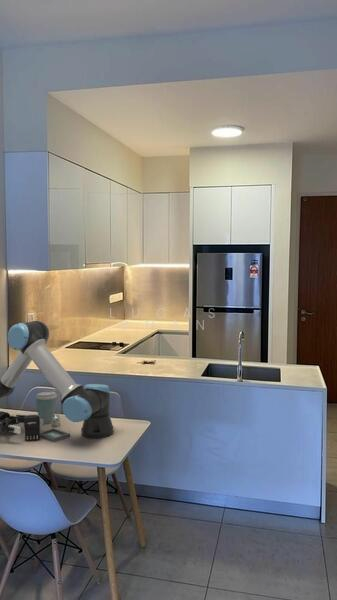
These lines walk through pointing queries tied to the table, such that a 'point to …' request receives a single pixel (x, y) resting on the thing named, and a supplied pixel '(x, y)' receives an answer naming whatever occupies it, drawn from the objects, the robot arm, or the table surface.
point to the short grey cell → (55, 420)
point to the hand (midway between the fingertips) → (31, 426)
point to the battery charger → (32, 427)
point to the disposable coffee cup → (46, 405)
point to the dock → (54, 435)
